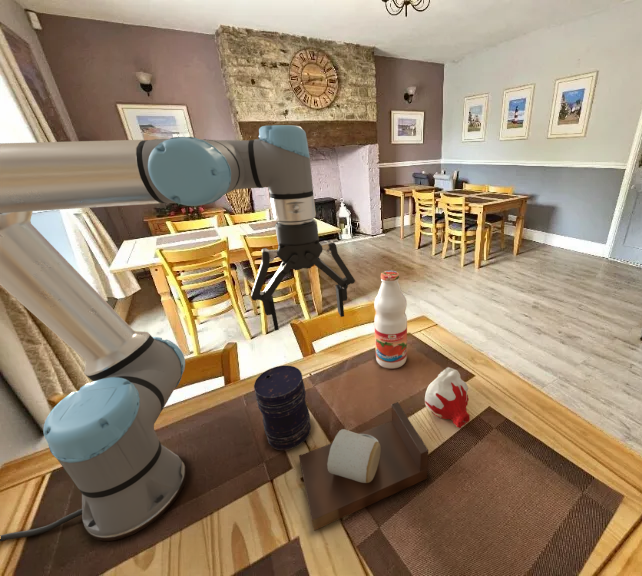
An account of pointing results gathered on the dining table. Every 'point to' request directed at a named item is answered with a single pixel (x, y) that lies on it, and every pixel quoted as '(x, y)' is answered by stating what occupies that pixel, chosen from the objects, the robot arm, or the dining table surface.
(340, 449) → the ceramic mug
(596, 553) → the dining table surface
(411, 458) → the dark wooden tray
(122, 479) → the robot arm
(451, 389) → the white red rounded piece
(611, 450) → the dining table surface
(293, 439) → the storage jar
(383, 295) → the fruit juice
